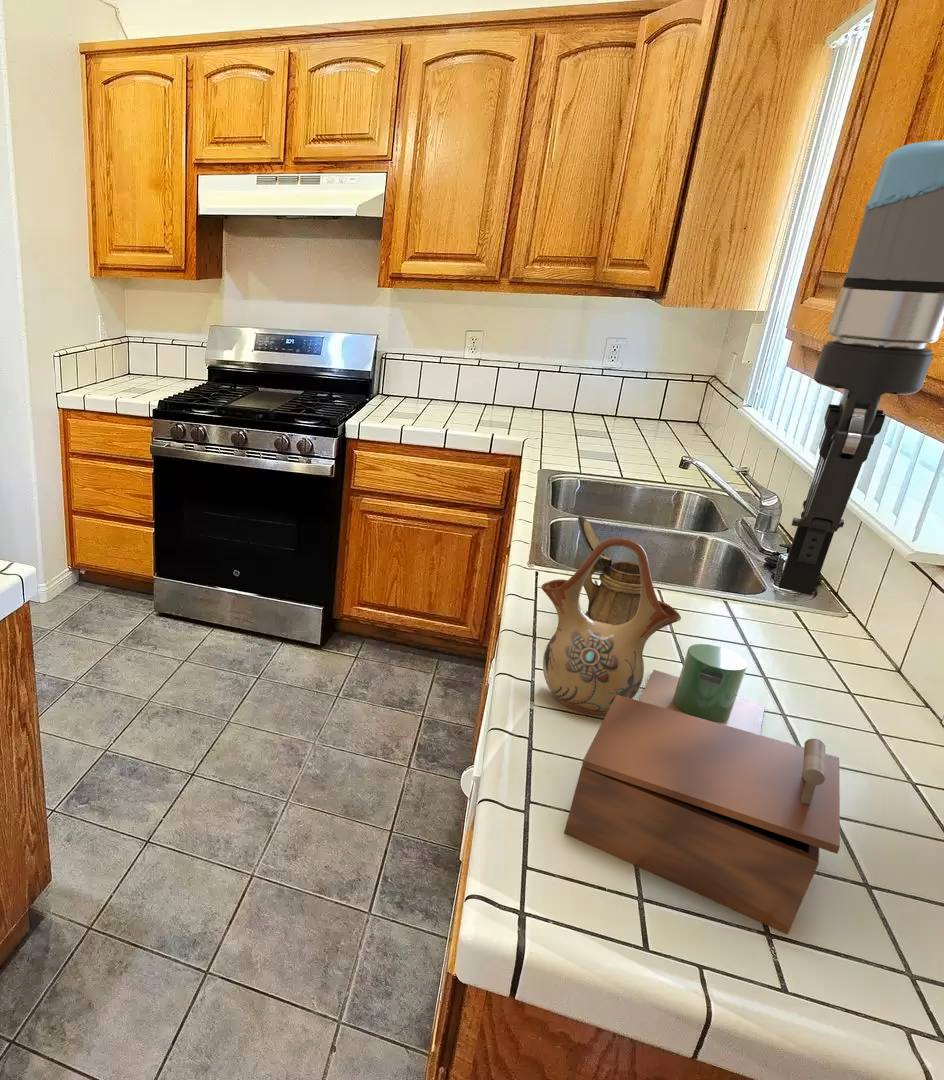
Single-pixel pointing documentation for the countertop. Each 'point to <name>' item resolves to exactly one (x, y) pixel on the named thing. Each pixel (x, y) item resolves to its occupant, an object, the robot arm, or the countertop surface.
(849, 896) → the countertop surface
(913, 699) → the countertop surface
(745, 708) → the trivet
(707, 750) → the chest lid
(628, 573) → the wooden mug
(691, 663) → the pot
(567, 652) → the ceramic vessel
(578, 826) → the chest
